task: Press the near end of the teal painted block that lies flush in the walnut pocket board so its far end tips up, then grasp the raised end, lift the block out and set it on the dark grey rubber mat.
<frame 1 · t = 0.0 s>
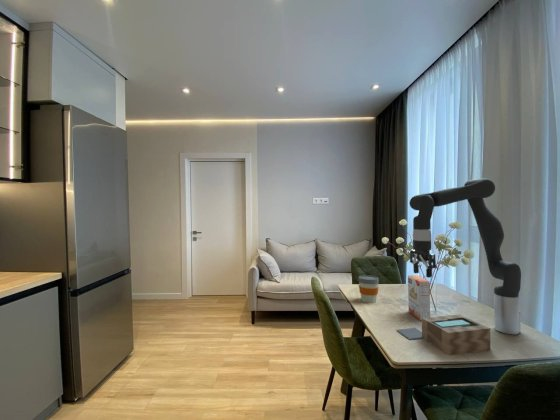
hand: (422, 275, 129), 29 cm above the table, tool pointing down, fingers open, 8 cm apart
reusable coffee cup: (368, 300, 185), on the table
grey mat: (412, 334, 135), on the table
cracker box: (418, 316, 158), on the table
teal block: (452, 332, 125), point 5 cm above the table, touching pocket board
pocket board: (454, 343, 125), on the table
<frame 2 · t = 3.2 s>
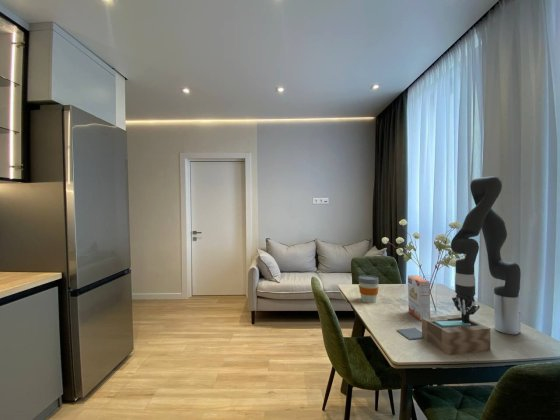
hand: (465, 322, 126), 9 cm above the table, tool pointing down, fingers closed
teal block: (452, 332, 125), point 5 cm above the table, touching gripper, pocket board
everything else where it was.
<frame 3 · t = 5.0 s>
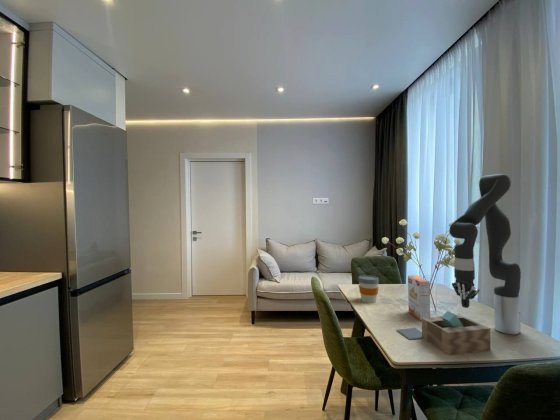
hand: (465, 307, 126), 16 cm above the table, tool pointing down, fingers closed
teal block: (453, 330, 125), point 6 cm above the table, tilted 53°, touching pocket board
everything else where it was.
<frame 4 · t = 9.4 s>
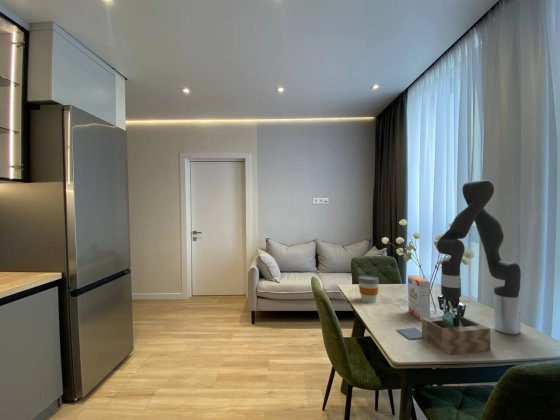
hand: (451, 323, 125), 9 cm above the table, tool pointing down, fingers closed on teal block, 4 cm apart
teal block: (453, 330, 125), point 6 cm above the table, tilted 53°, touching gripper, pocket board
everything else where it was.
when the fingers open (11 cm above the table, at t = 15.0 s): teal block drops 7 cm, resting on grey mat.
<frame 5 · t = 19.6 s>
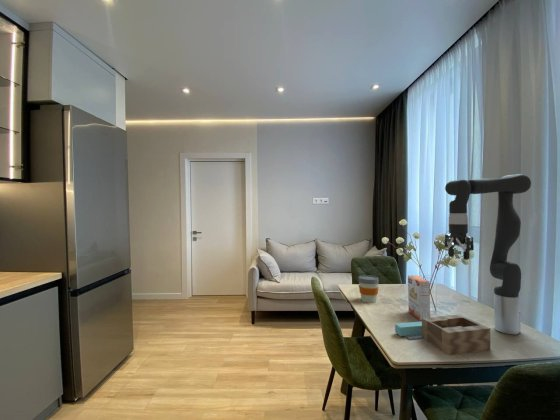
hand: (458, 258, 133), 36 cm above the table, tool pointing down, fingers open, 8 cm apart
teal block: (411, 332, 135), point 1 cm above the table, touching grey mat
everything else where it was.
at the end: teal block inside the target area (0.4 cm from its centre), point 0.6 cm above the table; teal block touching grey mat; the gripper is holding nothing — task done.
